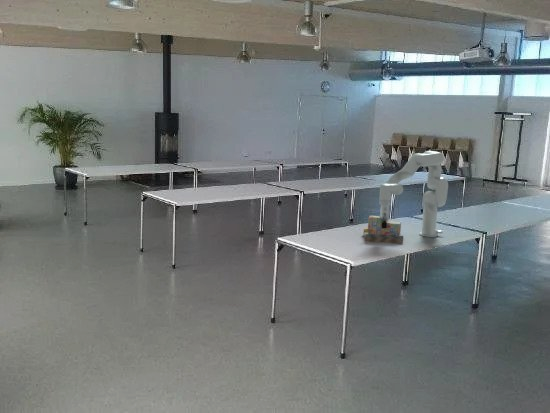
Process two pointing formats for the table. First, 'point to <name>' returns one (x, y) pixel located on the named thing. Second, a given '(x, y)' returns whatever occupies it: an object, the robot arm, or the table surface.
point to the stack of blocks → (376, 226)
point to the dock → (382, 238)
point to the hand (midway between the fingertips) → (383, 226)
